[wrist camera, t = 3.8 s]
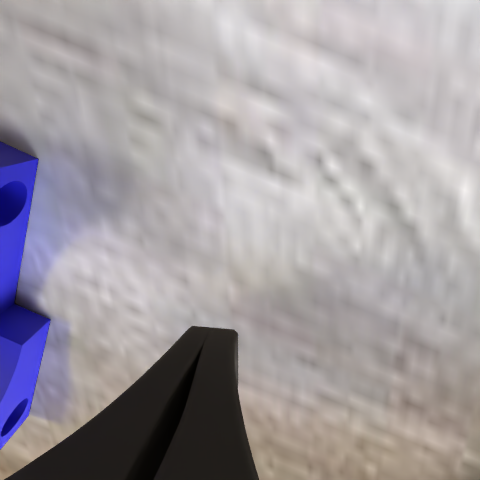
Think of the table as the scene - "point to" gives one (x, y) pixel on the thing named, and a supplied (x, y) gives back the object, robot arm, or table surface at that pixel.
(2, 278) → the blue cradle bracket
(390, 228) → the table surface
